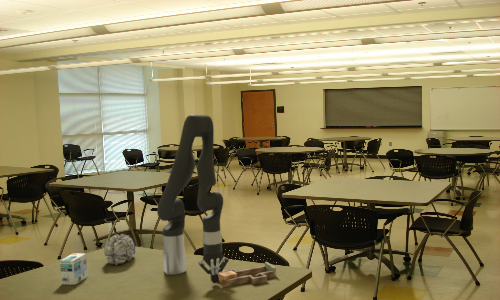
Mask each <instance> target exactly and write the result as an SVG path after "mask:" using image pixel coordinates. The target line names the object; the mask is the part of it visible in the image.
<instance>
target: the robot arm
mask: <svg viewBox="0 0 500 300" xmlns="http://www.w3.org/2000/svg"><path fill="white" fill-rule="evenodd" d="M214 131H215V129H214V122H213V119H212V117H211V116H209V115H208V114H207V115H206V114H192V113H191V114H189V115H187V116H186V118H185V120H184V122H183V126H182V129H181V135H180V140H179V143H178V148H177V151H176V154H175V158H174V160H173V163H172V166H171V170H170V173H169V175H168V176H169V177H168V179H167V182H166V185H165V188H164V191H163V193H162V195H161V197H160V199H159V201H158V204H157V209H156V211H157V216H158V218H159V220H161V221H162V222H165V221H166V222H167V221H168V223H167V224H166V225H165V226H164V227H163V228H162V240H163V241H162V245H163V250H162V262H163V272H164V273H165V274H166V275H167V276H168V275H169V276H173V275H180V274H183V273H185V272H186V269H187V268H186V267H187V266H186V254H185V253H186V251H185V233H184V230H185V227H186V226H185V224H186V223H185V222H186V221H185V219H186V218H185V217H186V215H185V213H186V212H185V205H184V202H183V200H182V199H181V198H179V195H180V194H181V192H182V191H183V190H184V188H186V186H187V185H188V184H189V182H190V181H191V179H192V177H193V175H194V172H195V168H196V174H197V179H198V190H197V191H198V192H197V199H196V204H197V207H198V209H199V210H200V211H201V212H208V211H211V213H210V214H208V215H206V216H204V217H203V218H202V231H203V232H202V242H203V243H202V244H203V256H202V260H201V261H199V262H198V265H199V267H201V269H203V271H204V272H205V273H206V274H207V275H210V281H211V283H212V284H217V283H218V282H219V281H218V274H219V273H221V272H222V271H223V270H225V267H226V266H227V264H228V262H229V260H230V259H229V258H227V257H225V256H224V254H223V242H222V241H223V237H222V233H221V217H222V212H223V208H224V207H223V206H224V197H223V195H222V194H221V193H220V192H219V191H213V192H207V190H208V189H210V188H211V187H214V186H216V184H217V178H216V172H215V164H214V136H215V135H214ZM196 138H201V141H202V142H201V143H202V147H201V152H200V154H199V158H198V161H197V166H196V160H195V156H194V153H193V150H192V149H193V145H194V141H195V139H196ZM206 265H207V266H208V268H209V269H208V268H207V267H206ZM217 281H218V282H217Z"/></svg>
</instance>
